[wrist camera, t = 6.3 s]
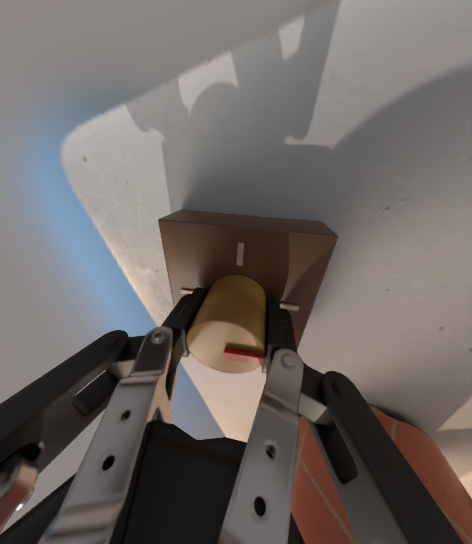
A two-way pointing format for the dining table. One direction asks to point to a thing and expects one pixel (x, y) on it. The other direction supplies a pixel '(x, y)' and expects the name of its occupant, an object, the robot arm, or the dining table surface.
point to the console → (249, 256)
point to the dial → (230, 326)
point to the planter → (326, 503)
